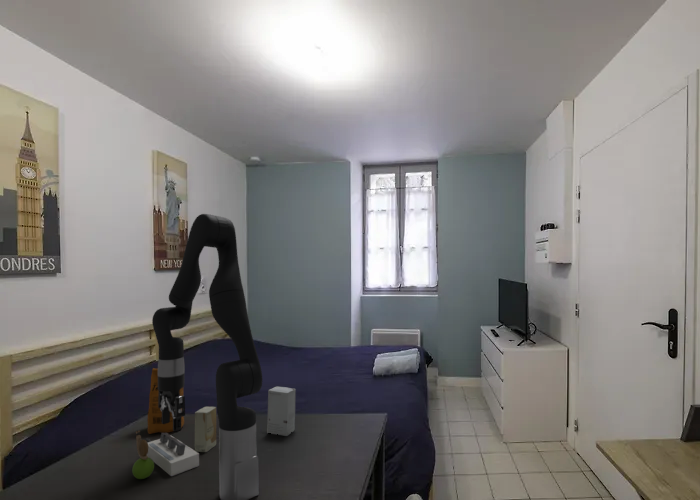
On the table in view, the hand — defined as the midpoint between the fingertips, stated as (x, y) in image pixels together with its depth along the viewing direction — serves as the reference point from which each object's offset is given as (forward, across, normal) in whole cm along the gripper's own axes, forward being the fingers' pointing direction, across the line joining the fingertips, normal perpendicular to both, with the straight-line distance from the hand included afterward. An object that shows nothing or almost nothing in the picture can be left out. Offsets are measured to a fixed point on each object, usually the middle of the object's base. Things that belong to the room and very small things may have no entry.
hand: (171, 426), depth 123 cm
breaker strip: (+10, +5, 0) cm, 11 cm away
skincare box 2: (+10, -8, -35) cm, 37 cm away
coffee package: (+10, +27, -9) cm, 30 cm away
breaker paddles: (+6, 0, 0) cm, 6 cm away
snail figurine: (+10, -5, +10) cm, 15 cm away
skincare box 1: (+10, 0, -11) cm, 15 cm away
